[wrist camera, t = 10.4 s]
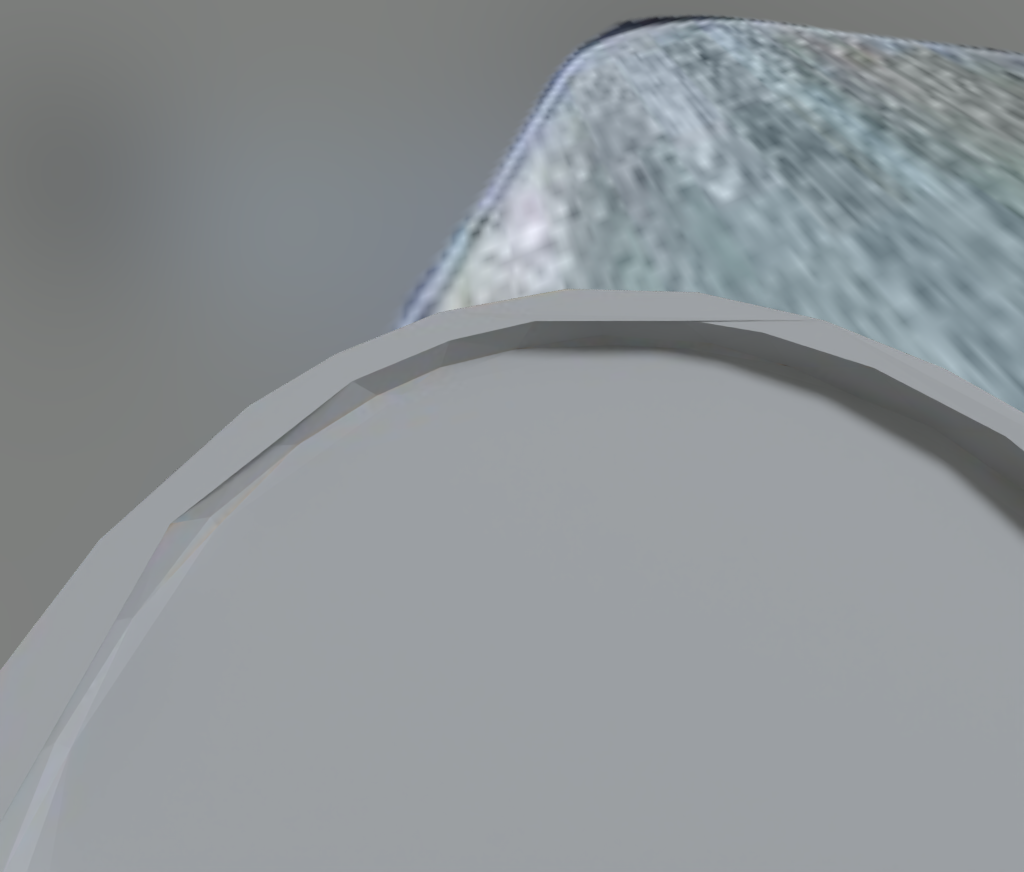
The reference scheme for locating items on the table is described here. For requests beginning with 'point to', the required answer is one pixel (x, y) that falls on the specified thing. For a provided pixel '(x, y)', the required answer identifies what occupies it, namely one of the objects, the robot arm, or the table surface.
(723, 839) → the disposable coffee cup
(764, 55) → the table surface
